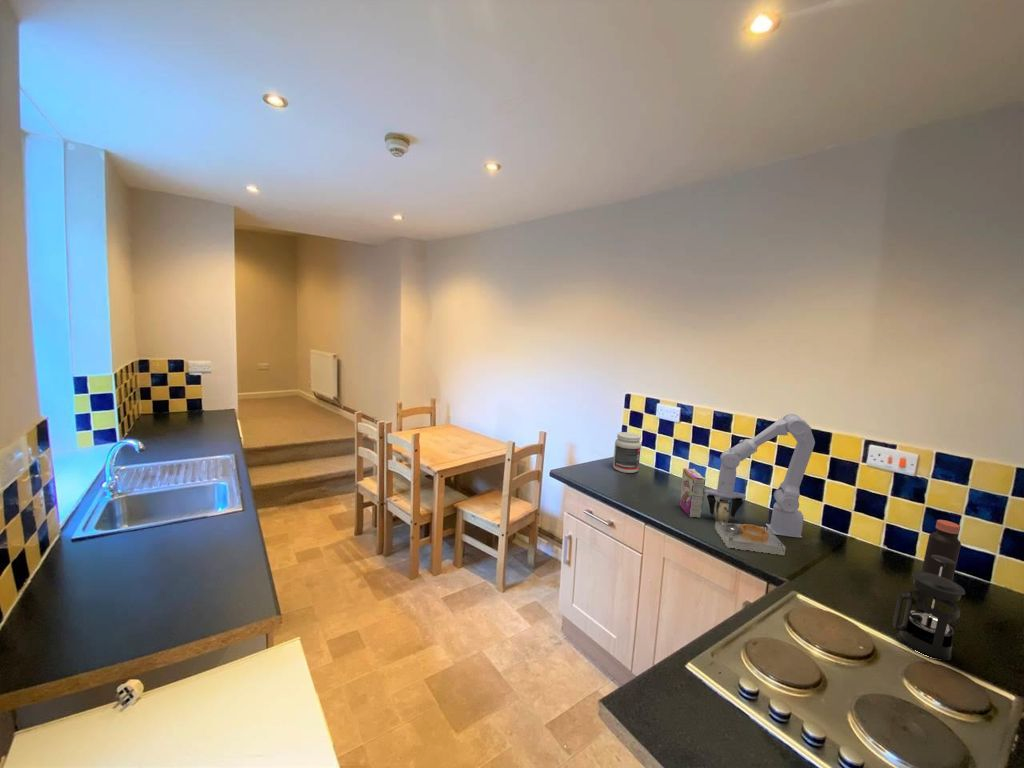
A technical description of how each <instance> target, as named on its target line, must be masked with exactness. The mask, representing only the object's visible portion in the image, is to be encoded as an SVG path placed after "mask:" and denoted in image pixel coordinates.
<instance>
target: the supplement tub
mask: <svg viewBox="0 0 1024 768" xmlns="http://www.w3.org/2000/svg"><path fill="white" fill-rule="evenodd" d="M616 437H617V439H615V442H614V451H613V461H612V462H613V463H612V466H613V469H615V470H616V471H618V472H620V473H623V474H624V473H627V474H634V473H636V472H638V471H639V467H640V461H641V460H640V458H641V450H642V449H641V448H642V443H641V435H639V434H638V433H634V432H628V431H621V432H618V433H617V436H616Z"/></svg>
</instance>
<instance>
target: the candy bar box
mask: <svg viewBox="0 0 1024 768" xmlns="http://www.w3.org/2000/svg"><path fill="white" fill-rule="evenodd" d="M682 470H683V471H682V477H681V487H680V496H679V504H678V506H679V507H680V508H681V509H682V510H683V512H684V513H685V514H686V515H687V516H688V517H689V518H692V517H697V518H698V519H701V518H702V512H703V511H702V510H703V503H704V502H703V501H704V496H705V494H704V491H705V485H706V478H705V477H704V476H703V475H702V474H700V473H699V472H698V471H697V470H696V469H695V468H682Z"/></svg>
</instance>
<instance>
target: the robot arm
mask: <svg viewBox="0 0 1024 768" xmlns="http://www.w3.org/2000/svg"><path fill="white" fill-rule="evenodd" d="M789 433H790V434H791V436H792V437H793V438H794V440H795V441H796V445H795V447H794V451H793V454H792V456H791V459H790V461H789V465H788V467H787V470H786V473H785V477H784V479H783V481H782V482H780V484H779V487H778V488H777V489H776V490H775V491H774V493H773V497H774V500H775V503H774V504H773V506H772V507H773V508H772V514H771V520H770V523H765V525H766V526H765V527H767V528H769V529H770V530H771V532H772V533H773V534H774V535H775V536H777V535H778V536H783V537H790V538H791V537H793V538H799V539H800V538H801V539H802V538H803V536H802V532H803V528H804V527H803V526H804V514H803V512H802V511H801V510H799V507H800V502H799V499H800V495H801V494H800V486H801V484H802V481H803V478H804V476H805V473H806V470H807V467H808V464H809V461H810V458H811V457H812V453H813V451H814V447H815V444H816V441H815V438H814V434H813V433H812V427H811V426H810V425H809V424H808V422H806V421H805V420H804V419H802V418H801V417H800V416H798V415H797V414H795V413H789V414H785V415H784V416H783V417H782V418H778V419H777V420H776V421H774V423H772V424H770V425H769V426H768V427H767V428H765V429H764V430H762V431H761V432H760V433H758V434H757V435H755V436H754V437H753V438H751V439H750V438H745V439H741V440H739V442H738V443H737V444H736V445H734V446H733V447H729V448H728V450H724V451H723V452H722V453H721V454H720V456H719V458H720V468H719V473H718V481H717V487H716V488H717V489H705V488H704V496H705V497H706V498H707V503H708V506H709V514H711V515H715V507H716V502H717V499H716V497H717V498H718V497H719V498H726V499H731V506H730V517H732V518H735V515H736V514H737V512H738V510H739V508H741V506H743V504H744V501H746V498H747V497H746V495H745V493H740V492H736V491H734V490H735V485H736V475H737V467H739V466H740V462H743V461H745V460H746V459H747V458H749V457H750V456H752V455H753V454H755V453H757V451H758V447H760V446H761V445H763V444H765V443H767V442H769V441H770V440H772V439H773V438H775V437H778V436H789Z"/></svg>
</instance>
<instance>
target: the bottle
mask: <svg viewBox="0 0 1024 768" xmlns="http://www.w3.org/2000/svg"><path fill="white" fill-rule="evenodd" d="M935 524H936V525H935V530H936V531H934V532H931V533H930V534H929V535H928V540H927V545H926V548H925V554H924V558H923V562H922V565H921V566H922V567H921V571H920V572H928V573H932V574H935V575H939V572H940V567H941V566H939V563H940V562H938V561H936V560H934V559H932V558H931V555H939V556H943V557H946V558H948V559H951V560H952V561H954V562H955V563H956V565H947V564H945V567H943V568H942V572H941V576H942V577H944V578H947V579H949V580H951V581H953V582H954V578H955V577H954V575H955V572H956V567H957V563H958V559H959V554H960V551H961V546H962V543H961V540H959V538H957V536H959V534H960V529H961V526H960V525H959V524H958V523H955V522H952V521H949V520H944V519H937V520H936V523H935Z"/></svg>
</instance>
